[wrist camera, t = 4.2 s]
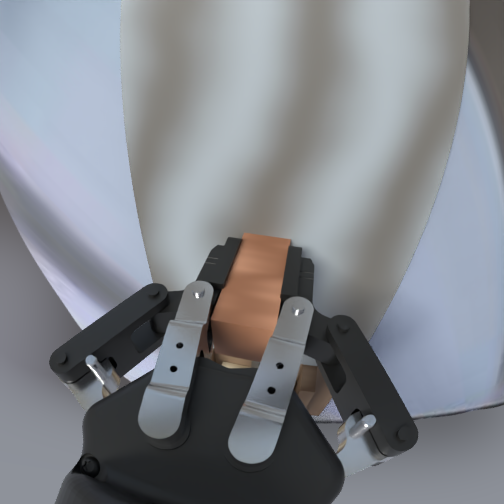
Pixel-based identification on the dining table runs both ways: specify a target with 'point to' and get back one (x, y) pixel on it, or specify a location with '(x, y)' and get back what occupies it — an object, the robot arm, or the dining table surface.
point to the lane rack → (292, 137)
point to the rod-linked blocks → (250, 299)
